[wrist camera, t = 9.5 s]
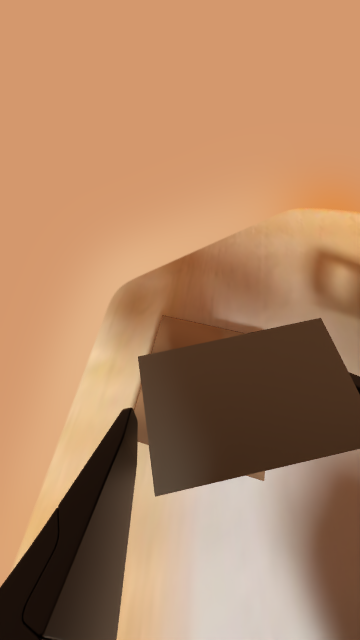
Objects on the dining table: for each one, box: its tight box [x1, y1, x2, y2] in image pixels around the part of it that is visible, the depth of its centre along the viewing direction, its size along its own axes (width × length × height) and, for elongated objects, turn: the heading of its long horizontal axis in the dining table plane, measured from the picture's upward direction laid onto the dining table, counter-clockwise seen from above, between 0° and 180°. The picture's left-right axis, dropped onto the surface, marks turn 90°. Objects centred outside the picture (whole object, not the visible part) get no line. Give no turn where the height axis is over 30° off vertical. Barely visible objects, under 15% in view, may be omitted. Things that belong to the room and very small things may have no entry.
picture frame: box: [138, 318, 360, 496], centre depth 11 cm, size 5×7×12 cm
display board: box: [134, 316, 265, 481], centre depth 17 cm, size 12×12×2 cm
